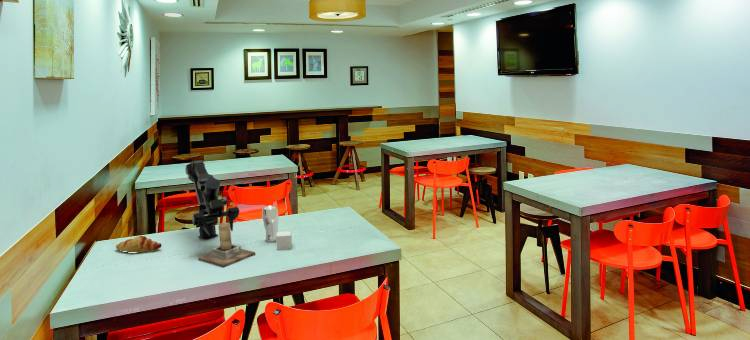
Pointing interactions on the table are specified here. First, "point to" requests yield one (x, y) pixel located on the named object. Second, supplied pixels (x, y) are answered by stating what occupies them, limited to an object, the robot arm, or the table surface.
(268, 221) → the beer glass
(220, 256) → the cup bracket
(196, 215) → the robot arm
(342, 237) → the table surface
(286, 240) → the light grey cube
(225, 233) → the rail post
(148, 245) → the croissant
